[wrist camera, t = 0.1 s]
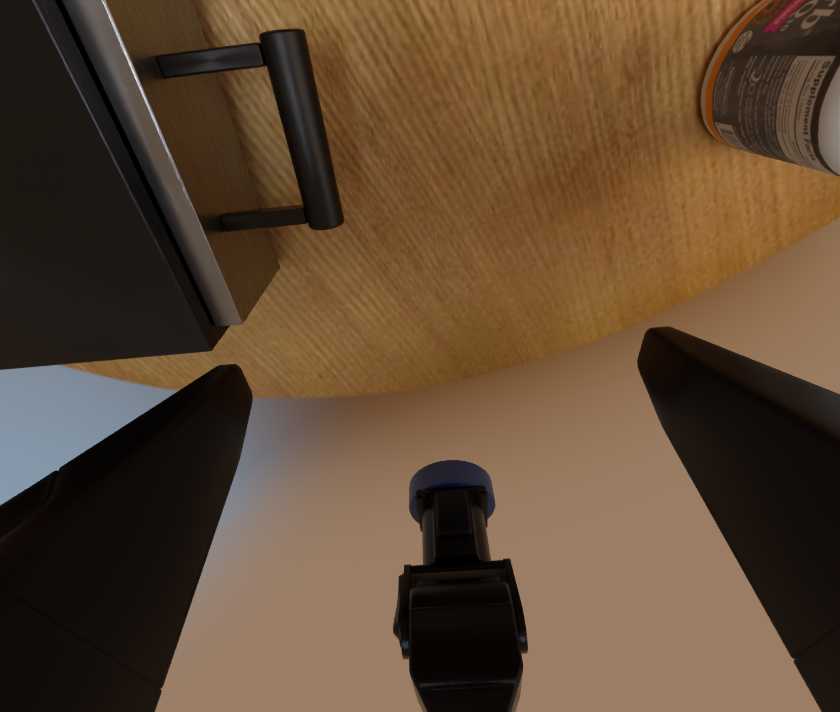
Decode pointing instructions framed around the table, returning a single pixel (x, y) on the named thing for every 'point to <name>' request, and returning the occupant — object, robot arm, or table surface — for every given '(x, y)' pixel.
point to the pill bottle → (779, 84)
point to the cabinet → (78, 217)
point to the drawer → (206, 138)
